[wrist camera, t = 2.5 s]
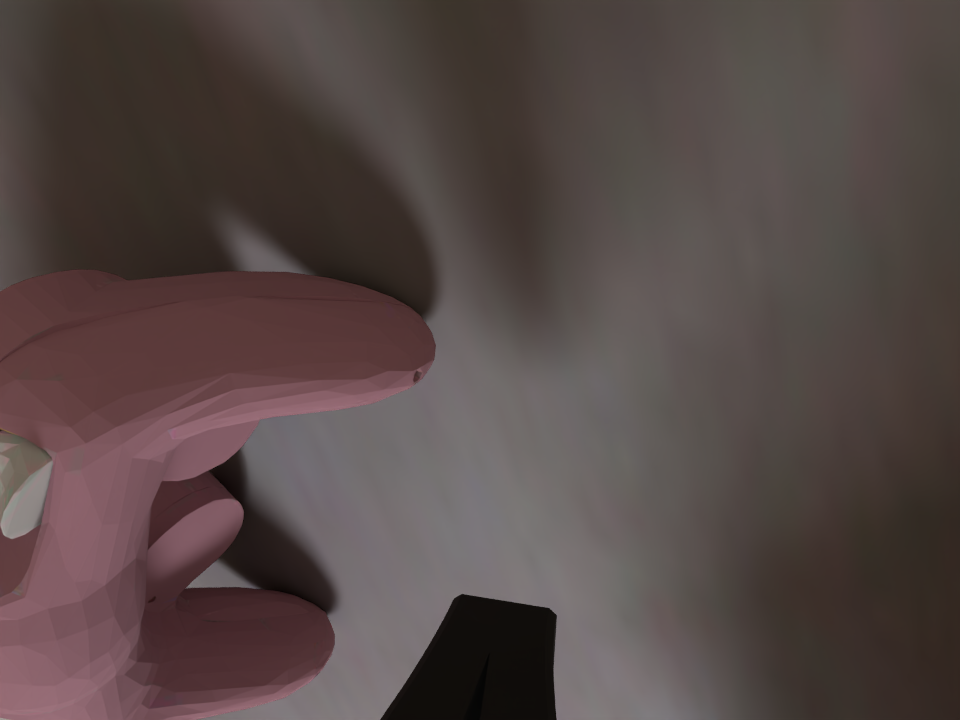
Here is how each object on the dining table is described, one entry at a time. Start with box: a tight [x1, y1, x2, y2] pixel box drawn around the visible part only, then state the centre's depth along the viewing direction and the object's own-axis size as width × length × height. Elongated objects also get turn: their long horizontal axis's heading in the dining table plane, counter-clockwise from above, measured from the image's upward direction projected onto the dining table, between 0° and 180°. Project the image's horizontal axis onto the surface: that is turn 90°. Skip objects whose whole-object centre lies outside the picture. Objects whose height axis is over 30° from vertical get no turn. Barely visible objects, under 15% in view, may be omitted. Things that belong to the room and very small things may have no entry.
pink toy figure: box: [0, 269, 436, 720], centre depth 13 cm, size 10×5×7 cm, turn 162°
